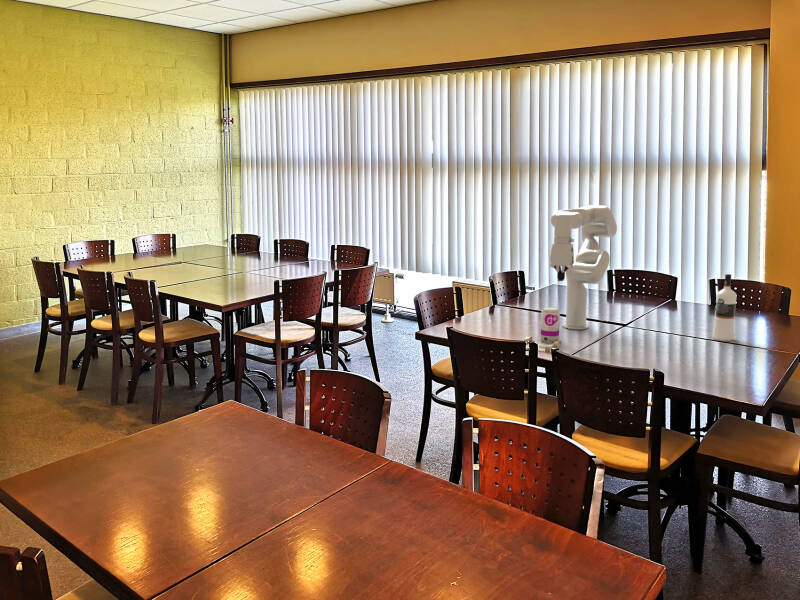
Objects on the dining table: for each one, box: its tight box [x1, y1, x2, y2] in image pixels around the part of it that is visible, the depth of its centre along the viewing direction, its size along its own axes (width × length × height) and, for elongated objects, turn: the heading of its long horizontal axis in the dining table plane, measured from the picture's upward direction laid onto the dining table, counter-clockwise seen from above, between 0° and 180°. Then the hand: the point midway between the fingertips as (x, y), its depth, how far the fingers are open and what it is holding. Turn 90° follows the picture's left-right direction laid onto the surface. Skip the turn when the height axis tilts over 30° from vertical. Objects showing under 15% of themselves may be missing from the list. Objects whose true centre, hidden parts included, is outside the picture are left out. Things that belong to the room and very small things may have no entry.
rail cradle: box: [521, 335, 562, 354], centre depth 322 cm, size 14×16×2 cm
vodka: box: [711, 273, 738, 342], centre depth 330 cm, size 9×9×30 cm
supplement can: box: [540, 306, 561, 343], centre depth 331 cm, size 8×8×15 cm
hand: (560, 280), depth 336 cm, fingers closed
